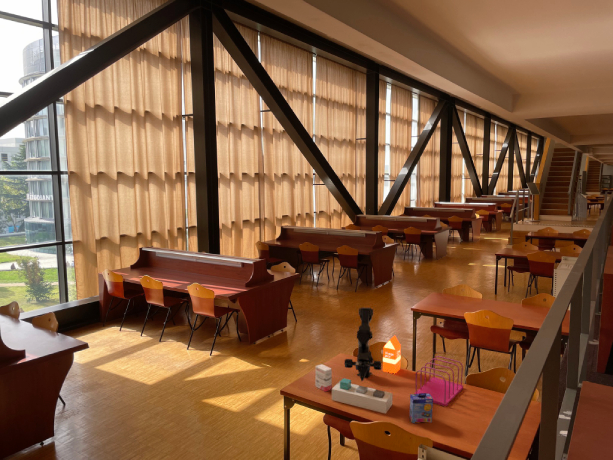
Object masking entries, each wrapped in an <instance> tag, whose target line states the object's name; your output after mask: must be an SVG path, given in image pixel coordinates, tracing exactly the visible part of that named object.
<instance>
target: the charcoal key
mask: <svg viewBox="0 0 613 460" xmlns="http://www.w3.org/2000/svg"><path fill="white" fill-rule="evenodd" d="M373 396H374V397H378V398H383V396H384V390H381V389H376V390H375V391H374V393H373Z"/></svg>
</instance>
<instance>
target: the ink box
mask: <svg viewBox="0 0 613 460" xmlns="http://www.w3.org/2000/svg"><path fill="white" fill-rule="evenodd" d="M332 370H333V369H332V368H331V367H329V366H327V365H324V364H322V363H321V364H318V365H315V382H314V383H315V387H316V388H318V389H320V390H321V391H323V392H328V391H332V388H333V386H332V385H333V383H332V382H333V381H332V379H333V378H332V377H333V376H332V375H333V371H332Z"/></svg>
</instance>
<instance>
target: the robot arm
mask: <svg viewBox="0 0 613 460" xmlns="http://www.w3.org/2000/svg"><path fill="white" fill-rule="evenodd" d="M358 316H359V319H360V321H361V323H360V325H359V326H358V330H357V331H356V339H357V342H358V343H357V345H358V346H357V349H358V351H357V355H356V361H353V359H352V358H345V359H344V367H345V368H346V369H347V368H348V369H352V368H353V367H355V371H357V372H358V373H357V377H360V381H361V382H363V381H364V379H365V378H367V379H369V377H370V376H371V375H372V374H373V373H372V372H370V371H371V368H372V367H373V369H374V370H376V371H381V370H382V361H380V360H374V358H373V356H372V351H371V350H370V341H371V340H372V339H373V332H372V331H371V327H370V323H371V322H372V320H373V316H374V309H373V308H371V307H360V308H358Z"/></svg>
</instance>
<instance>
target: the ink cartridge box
mask: <svg viewBox="0 0 613 460" xmlns="http://www.w3.org/2000/svg"><path fill="white" fill-rule="evenodd" d="M409 397H410V398H409V419H410V422H411V423H412V424H416V423H415V422H430V423H432V422H433V410H434V409H433V408H434V406H433V405H434V403H433V398H432V397H431V395H430V394H426V393H419V394H414V393H410V396H409Z"/></svg>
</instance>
